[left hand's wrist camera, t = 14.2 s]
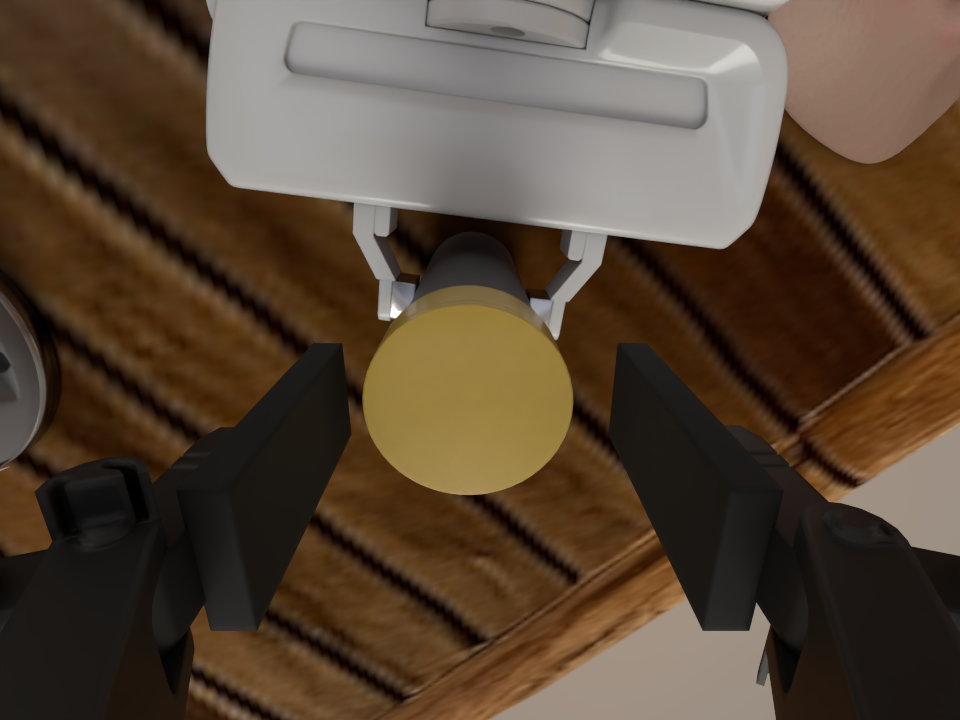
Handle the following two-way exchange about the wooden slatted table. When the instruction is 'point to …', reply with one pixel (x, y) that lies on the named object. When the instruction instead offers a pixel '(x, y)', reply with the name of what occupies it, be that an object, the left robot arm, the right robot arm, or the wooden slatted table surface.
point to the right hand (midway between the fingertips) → (469, 326)
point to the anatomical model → (869, 70)
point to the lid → (468, 391)
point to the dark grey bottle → (472, 266)
